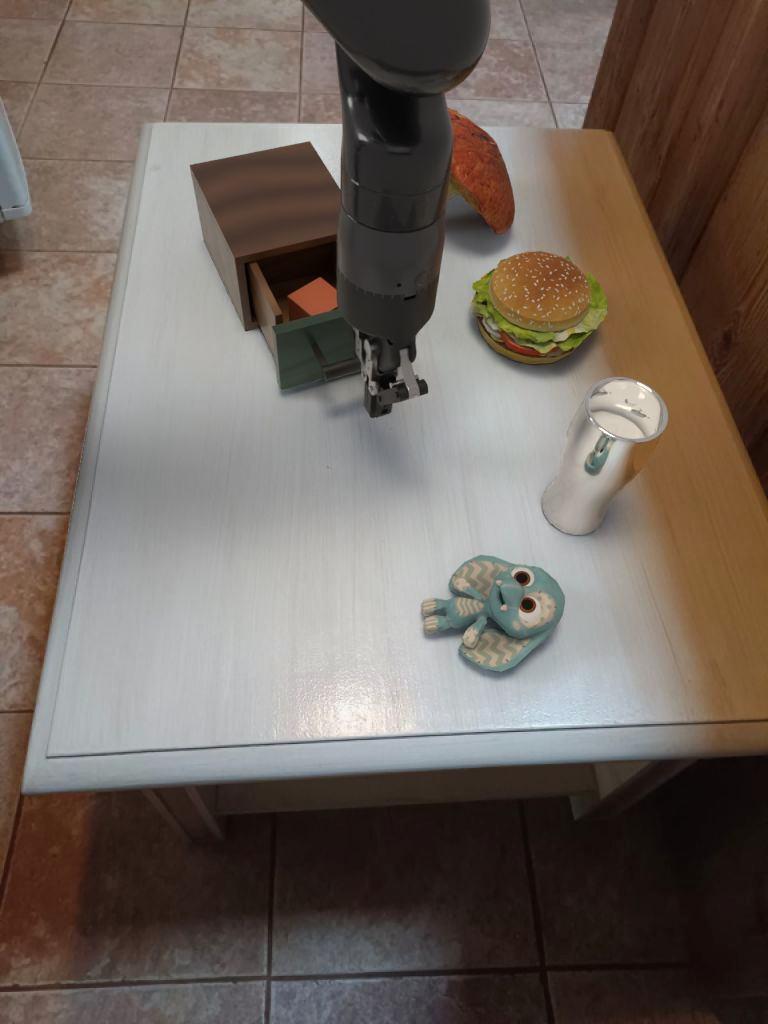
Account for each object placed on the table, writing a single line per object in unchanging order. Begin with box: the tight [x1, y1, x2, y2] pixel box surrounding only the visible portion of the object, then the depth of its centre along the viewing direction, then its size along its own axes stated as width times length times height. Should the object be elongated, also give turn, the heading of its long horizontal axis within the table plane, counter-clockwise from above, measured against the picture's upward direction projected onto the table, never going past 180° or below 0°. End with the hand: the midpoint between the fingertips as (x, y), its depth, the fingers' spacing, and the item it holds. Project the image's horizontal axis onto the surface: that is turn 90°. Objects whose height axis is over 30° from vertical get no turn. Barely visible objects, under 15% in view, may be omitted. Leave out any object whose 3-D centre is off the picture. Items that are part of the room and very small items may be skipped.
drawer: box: [244, 241, 361, 392], centre depth 74 cm, size 19×13×8 cm
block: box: [288, 277, 338, 322], centre depth 75 cm, size 4×4×4 cm
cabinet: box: [189, 140, 341, 332], centre depth 80 cm, size 16×14×10 cm
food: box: [470, 250, 609, 365], centre depth 78 cm, size 14×14×8 cm
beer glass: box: [541, 376, 669, 536], centre depth 63 cm, size 7×7×15 cm
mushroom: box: [447, 107, 516, 236], centre depth 86 cm, size 16×15×15 cm
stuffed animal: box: [420, 554, 566, 673], centre depth 60 cm, size 11×7×12 cm
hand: (377, 410), depth 66 cm, fingers closed
